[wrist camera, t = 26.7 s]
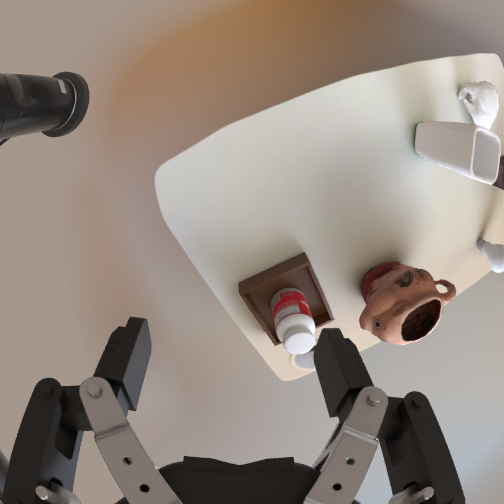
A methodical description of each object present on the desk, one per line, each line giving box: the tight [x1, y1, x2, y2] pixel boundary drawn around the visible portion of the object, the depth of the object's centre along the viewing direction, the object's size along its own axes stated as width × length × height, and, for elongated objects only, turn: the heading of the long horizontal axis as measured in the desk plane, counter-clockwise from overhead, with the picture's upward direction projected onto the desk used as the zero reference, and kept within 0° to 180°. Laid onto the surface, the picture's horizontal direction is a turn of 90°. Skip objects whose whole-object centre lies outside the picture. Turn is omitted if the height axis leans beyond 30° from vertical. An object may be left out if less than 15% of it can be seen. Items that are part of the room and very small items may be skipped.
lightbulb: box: [477, 239, 504, 273], centre depth 41 cm, size 6×6×11 cm
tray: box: [239, 252, 335, 346], centre depth 47 cm, size 14×12×3 cm
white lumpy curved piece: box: [458, 81, 499, 131], centre depth 29 cm, size 6×8×12 cm
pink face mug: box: [359, 262, 456, 345], centre depth 42 cm, size 20×12×14 cm, turn 113°
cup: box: [415, 121, 501, 184], centre depth 29 cm, size 7×7×15 cm
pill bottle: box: [271, 288, 315, 355], centre depth 43 cm, size 6×6×11 cm
